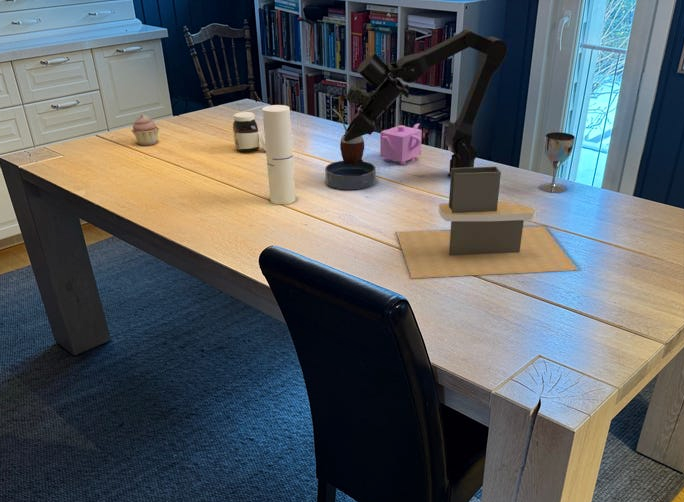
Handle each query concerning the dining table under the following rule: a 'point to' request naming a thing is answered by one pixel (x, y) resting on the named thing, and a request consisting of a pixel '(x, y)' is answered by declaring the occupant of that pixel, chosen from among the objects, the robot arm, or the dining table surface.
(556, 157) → the metal goblet
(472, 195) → the architectural model
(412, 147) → the teapot
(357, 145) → the mate gourd
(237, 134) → the spread jar
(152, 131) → the cupcake
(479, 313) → the dining table surface
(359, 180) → the large metal bowl
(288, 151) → the cylindrical container
